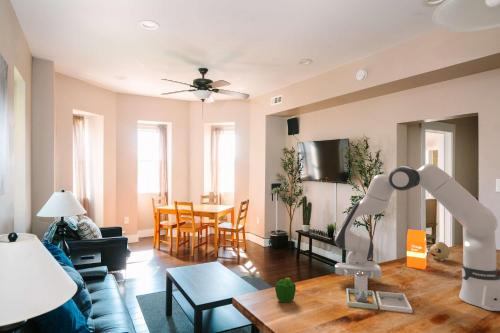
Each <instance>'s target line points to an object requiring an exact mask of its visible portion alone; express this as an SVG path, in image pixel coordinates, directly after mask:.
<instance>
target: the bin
mask: <svg viewBox="0 0 500 333" xmlns="http://www.w3.org/2000/svg"><path fill="white" fill-rule="evenodd" d="M349 293H350V294H355V288H347V287H346V302H347V307H353V308H354V307H355V308H361V309H372V310H378V308H379V306H378V305H379V304H378V300H377V297H376V293H375V292H374V290H370V289H369V290H368V296H372V299H373V303H368V302H365V303H361V302H357V301H350V296H349Z"/></svg>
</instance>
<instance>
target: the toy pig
mask: <svg viewBox="0 0 500 333" xmlns="http://www.w3.org/2000/svg"><path fill="white" fill-rule="evenodd" d="M426 250H427V252H428V253H429V254H430V256H431V257H432V259H433V260H434V259H435V260H439V261H441V262H443V261H444V260H446V259H448V258H449V256H450V252H451V250H450V248H449V246H448V245H447V244H446V243H445V242H443V241H438V242H436V243H434V244H433V245H431V246H427V247H426Z"/></svg>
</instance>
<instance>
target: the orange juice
mask: <svg viewBox="0 0 500 333" xmlns="http://www.w3.org/2000/svg"><path fill="white" fill-rule="evenodd" d="M406 267H407V268H408V267H409V268H415V269H420V270H426V267H427V236H426V231H425V230H419V229H418V230H417V229H409V228H408V229H407V235H406Z"/></svg>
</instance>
